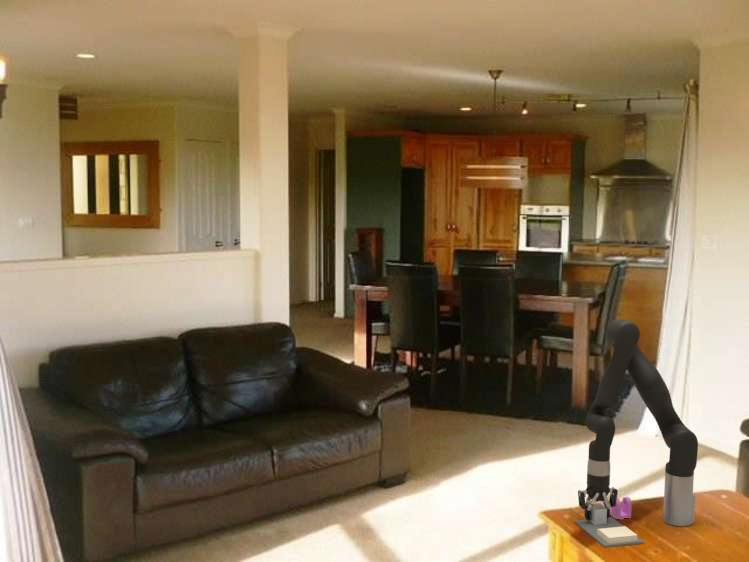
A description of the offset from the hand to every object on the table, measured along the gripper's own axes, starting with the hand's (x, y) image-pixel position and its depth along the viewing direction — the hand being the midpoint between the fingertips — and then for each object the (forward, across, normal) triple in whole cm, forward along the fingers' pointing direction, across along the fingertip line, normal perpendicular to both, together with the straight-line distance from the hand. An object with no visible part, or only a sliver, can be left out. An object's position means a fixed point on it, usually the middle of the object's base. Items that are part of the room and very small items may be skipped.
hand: (596, 519), depth 291 cm
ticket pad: (+2, 0, +8) cm, 8 cm away
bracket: (+2, -11, -8) cm, 14 cm away
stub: (+2, 0, 0) cm, 2 cm away
